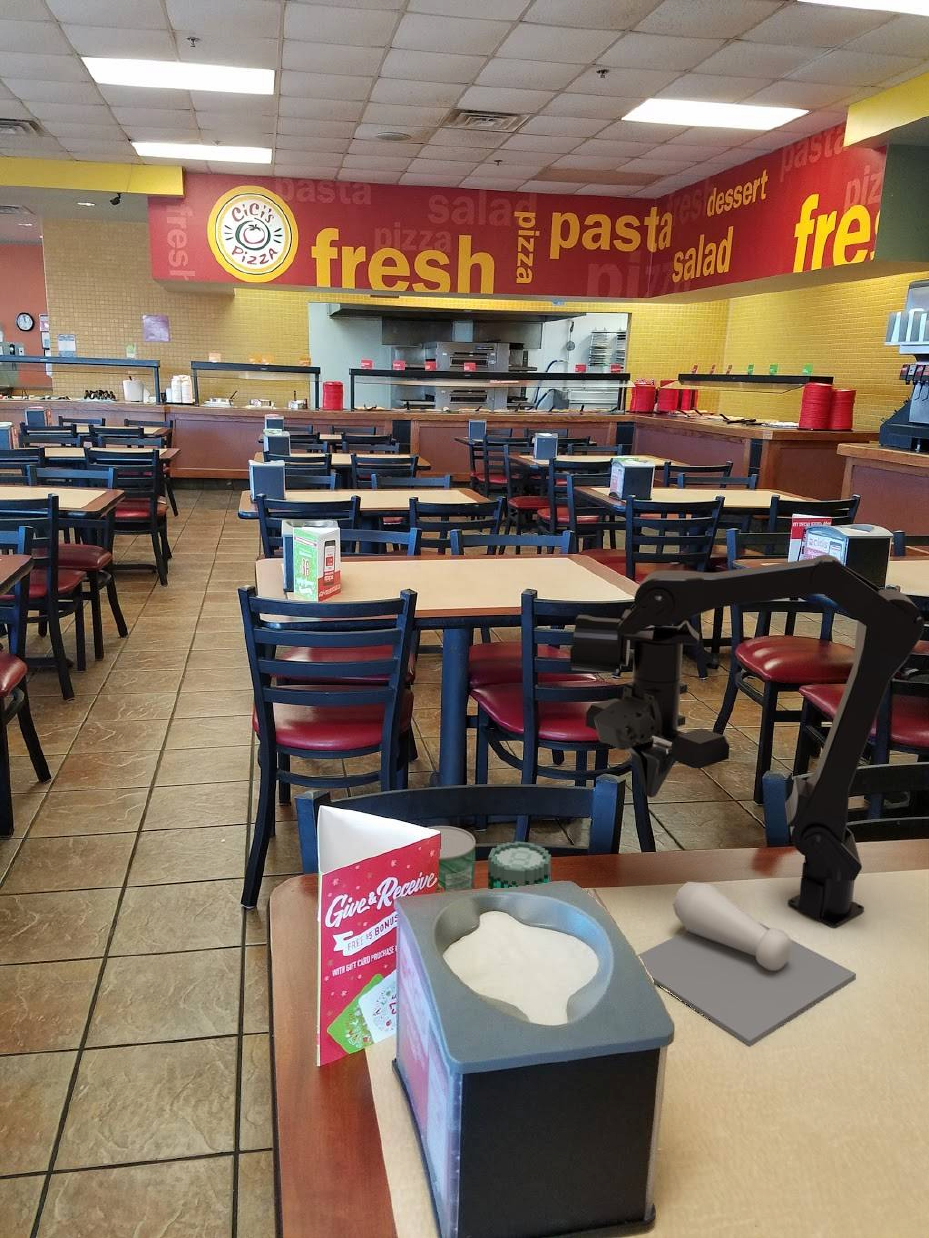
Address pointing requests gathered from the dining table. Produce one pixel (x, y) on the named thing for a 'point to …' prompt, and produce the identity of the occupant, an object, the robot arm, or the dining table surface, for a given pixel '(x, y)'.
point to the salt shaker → (730, 924)
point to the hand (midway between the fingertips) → (650, 796)
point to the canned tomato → (456, 859)
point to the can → (518, 865)
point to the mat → (742, 983)
